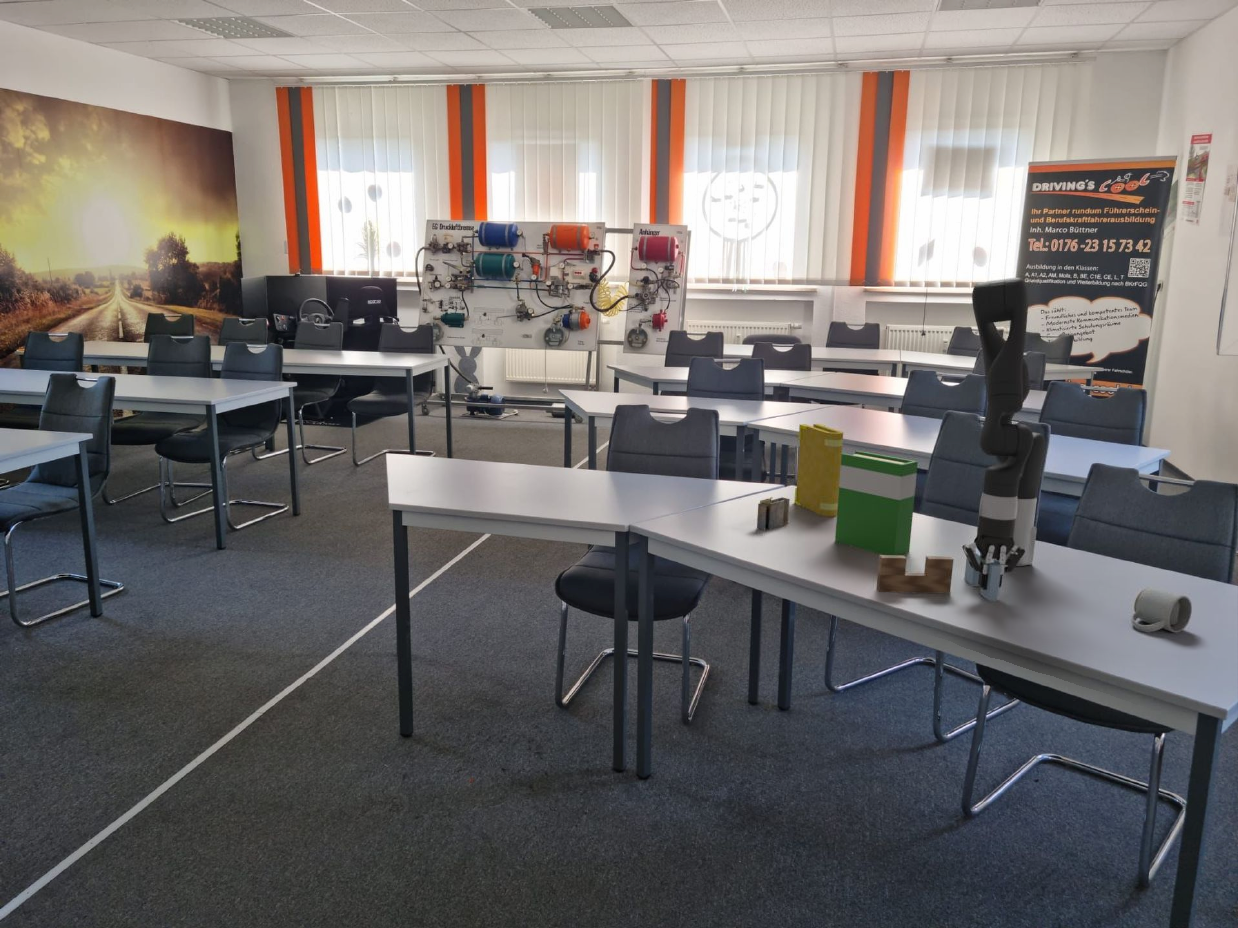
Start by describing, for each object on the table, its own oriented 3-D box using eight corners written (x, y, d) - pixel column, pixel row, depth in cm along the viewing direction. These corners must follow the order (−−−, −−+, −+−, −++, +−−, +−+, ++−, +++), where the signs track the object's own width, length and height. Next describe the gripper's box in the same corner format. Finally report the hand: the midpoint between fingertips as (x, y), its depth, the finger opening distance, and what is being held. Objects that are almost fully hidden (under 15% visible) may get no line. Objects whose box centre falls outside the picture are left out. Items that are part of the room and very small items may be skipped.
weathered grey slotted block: (765, 532, 245) (767, 498, 243) (756, 529, 247) (758, 496, 245) (789, 525, 253) (791, 492, 251) (780, 522, 255) (782, 490, 253)
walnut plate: (946, 590, 200) (950, 556, 199) (949, 593, 198) (953, 559, 197) (876, 588, 200) (879, 554, 199) (878, 591, 198) (881, 557, 197)
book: (794, 503, 277) (799, 424, 271) (813, 501, 279) (818, 423, 273) (822, 517, 261) (828, 433, 256) (842, 515, 263) (848, 433, 258)
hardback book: (834, 541, 236) (841, 453, 231) (850, 536, 241) (857, 450, 236) (894, 557, 224) (902, 465, 219) (909, 551, 229) (917, 461, 224)
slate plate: (964, 579, 208) (967, 546, 206) (972, 579, 208) (976, 547, 206) (988, 600, 194) (992, 565, 193) (997, 600, 194) (1001, 566, 193)
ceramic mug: (1150, 615, 187) (1155, 581, 186) (1190, 629, 180) (1195, 593, 179) (1119, 624, 183) (1124, 589, 181) (1158, 638, 176) (1163, 602, 174)
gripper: (1021, 510, 197) (1012, 583, 200) (959, 508, 197) (951, 582, 200) (1037, 519, 189) (1027, 595, 193) (972, 517, 189) (964, 594, 193)
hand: (989, 588), depth 196 cm, fingers closed on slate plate, 2 cm apart
